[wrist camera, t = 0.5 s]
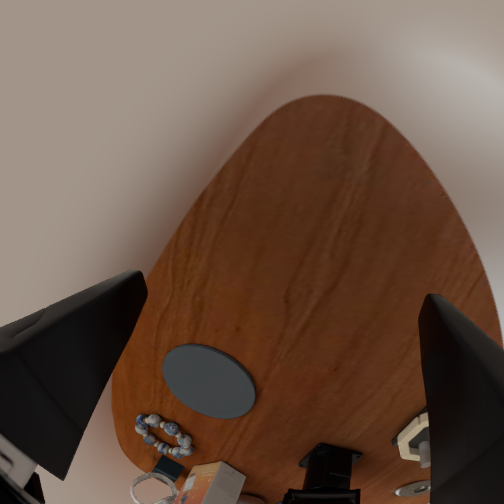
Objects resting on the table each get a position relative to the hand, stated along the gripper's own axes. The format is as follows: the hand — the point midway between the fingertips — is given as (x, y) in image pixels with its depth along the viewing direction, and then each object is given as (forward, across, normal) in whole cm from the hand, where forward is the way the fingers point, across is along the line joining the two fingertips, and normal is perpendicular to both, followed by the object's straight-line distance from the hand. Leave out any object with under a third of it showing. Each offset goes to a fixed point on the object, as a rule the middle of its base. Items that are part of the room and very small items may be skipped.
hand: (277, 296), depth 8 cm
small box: (+7, +10, +44) cm, 45 cm away
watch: (+6, +20, +48) cm, 52 cm away
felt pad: (+11, +9, +22) cm, 26 cm away
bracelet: (+9, +18, +36) cm, 41 cm away
